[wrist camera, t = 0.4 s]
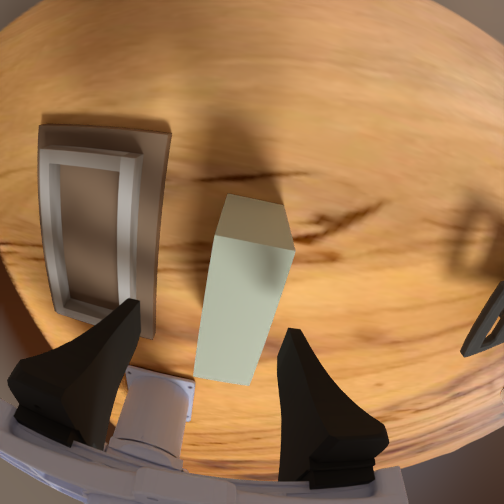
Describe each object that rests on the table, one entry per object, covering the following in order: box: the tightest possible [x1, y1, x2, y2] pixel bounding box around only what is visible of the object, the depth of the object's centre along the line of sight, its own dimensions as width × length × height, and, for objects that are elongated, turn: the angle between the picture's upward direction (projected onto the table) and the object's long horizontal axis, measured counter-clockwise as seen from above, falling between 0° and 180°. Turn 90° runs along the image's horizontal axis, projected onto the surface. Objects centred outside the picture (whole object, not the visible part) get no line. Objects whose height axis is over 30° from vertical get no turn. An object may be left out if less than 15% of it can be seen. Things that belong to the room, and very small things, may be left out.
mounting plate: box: [38, 124, 172, 340], centre depth 21 cm, size 18×11×2 cm, turn 168°
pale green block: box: [193, 194, 295, 386], centre depth 20 cm, size 11×4×7 cm, turn 168°
